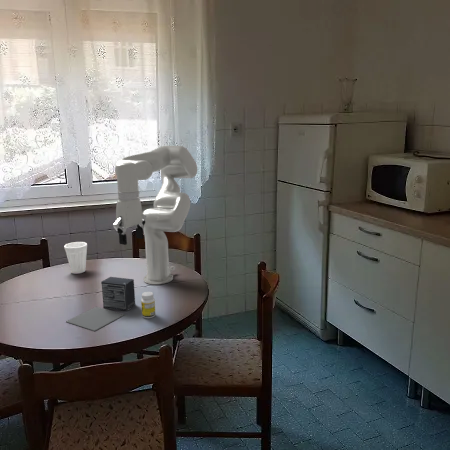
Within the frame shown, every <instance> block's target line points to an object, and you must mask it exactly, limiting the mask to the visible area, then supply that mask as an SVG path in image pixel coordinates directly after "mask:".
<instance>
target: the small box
mask: <svg viewBox="0 0 450 450" xmlns="http://www.w3.org/2000/svg"><path fill="white" fill-rule="evenodd" d="M134 281H135V280H134V278H127V277H126V278H125V277H124V278H123V277H116V276H109V277H107V278H106V279H105V278H104V280H102V281H101V283H100V284H101V291H102V292H101V294H102V295H101V296H102V305H103V307H102V308H103V309H107V310H109V309H111V310H118V311H123V312H128V311H129V310H131V309H132V308H133V307H134V306H136V296H135V295H136V292H135V282H134Z"/></svg>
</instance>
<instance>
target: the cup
mask: <svg viewBox="0 0 450 450" xmlns="http://www.w3.org/2000/svg"><path fill="white" fill-rule="evenodd" d="M63 247H64V251H65V254H66V257H67V261H68V266H69V268H70V272H71V273H72V274H82V273H84V272H86V269H87V267H86V266H87V252H88V251H87V250H88V243H87V242H85V241H75V242H69V243H65V245H64V246H63ZM71 273H70V274H71Z"/></svg>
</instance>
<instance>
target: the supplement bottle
mask: <svg viewBox="0 0 450 450" xmlns="http://www.w3.org/2000/svg"><path fill="white" fill-rule="evenodd" d="M155 301H156V300H155V298H154V292H152V291H144V292H142V294H141V300H140V303H141V315H142V317H143V318H144V319H152V318H154V317H156V302H155Z"/></svg>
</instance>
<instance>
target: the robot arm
mask: <svg viewBox="0 0 450 450" xmlns="http://www.w3.org/2000/svg"><path fill="white" fill-rule="evenodd" d="M158 171H160V178H161V187H160V189H159V191H158V193H157V194H156V197H155V198H154V200H153V207H150V208H146V209H145V210H143V207H142V202H141V198H140V191H139V190H140V189H139V188H140V187H139V181H146V180H149V179H150V178H151V177H152V176H153V173H156V172H158ZM114 172H115V175H116V183H117V184H116V185H117V193H118V194H117V197H118V200H116V201H117V202H116V208H115V222H114V223H113V224H112V226H113V228H114V230H115V232H116V233H117V235H118V242H119V245H125V246H126V245H127V244H128V242H127V241H128V240H127V234H126V231H127V229H128V228H132V227H135V226H136V227H135V236H136V239H140V240H143V239H144V242H145V246H144V247H145V260H146V263H145V264H146V275H145V276H144V277H143V282H144V283H146V284H149V285H164V284H167V283H170V282H171V281H172V280H173V279H174V275H173V274H171V273H172V271H174V270H176V266H175V265H171V266H170V265H169V264H170V263H169V241H168V238H167V235H166V233H165V232H169V233H175V232H176V233H178V231H180V230H181V229H182V227H183V226H184V223H185V220H186V219H187V216H188V214H189V212H190V210H191V199H190V196H189V195H188V194H187V193H185V192H182V191H181V187H180V185H179V184H178V182H177V181H176V180H175V179H194V178H195V177H196V176H197V174H198V165H197V162H196V160H195V158H194V157H193V156H192V154H191V152H190V150H188V149H187V148H186V147H185V146H183V145H162V146H159V147H157V148H155V149H152V150H151V151H147V152H142V153H138V154H137V153H136V154H134V155H133V154H132V155H129V156H125V157H123V158H121V159H120V160H118V161H117V162H116V164H115V167H114ZM173 281H174V280H173Z"/></svg>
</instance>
